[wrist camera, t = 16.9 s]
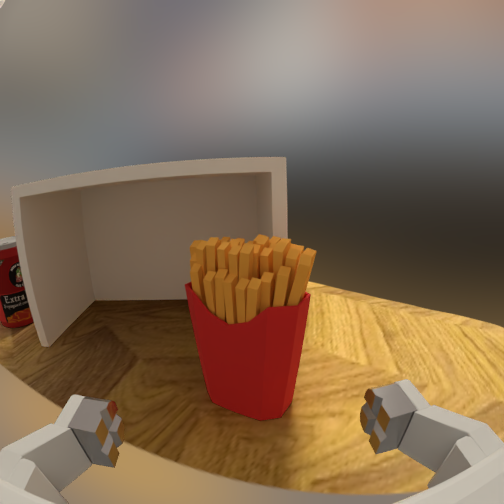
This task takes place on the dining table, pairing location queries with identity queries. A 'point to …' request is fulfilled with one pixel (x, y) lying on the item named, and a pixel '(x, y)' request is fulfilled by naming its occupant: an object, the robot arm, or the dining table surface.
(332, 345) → the dining table surface
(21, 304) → the canned food
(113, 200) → the white step stool
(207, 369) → the french fries
